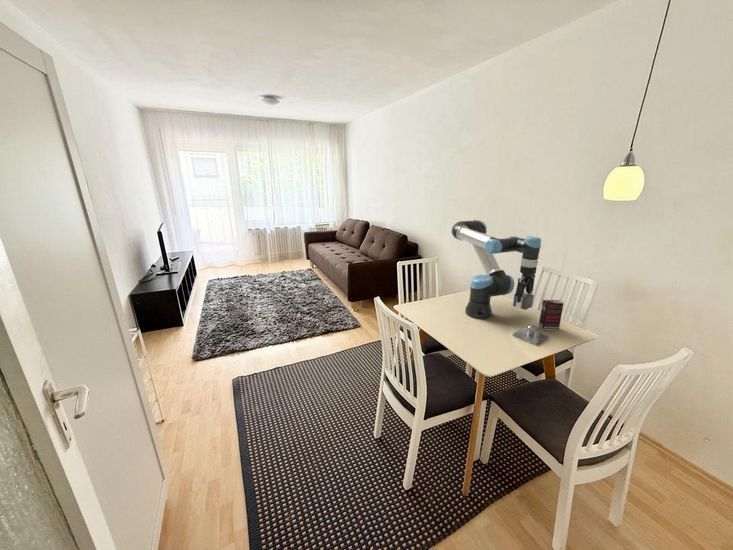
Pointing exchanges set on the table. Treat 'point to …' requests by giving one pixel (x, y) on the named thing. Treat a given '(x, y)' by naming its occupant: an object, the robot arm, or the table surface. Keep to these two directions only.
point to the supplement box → (550, 314)
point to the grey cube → (525, 300)
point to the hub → (530, 335)
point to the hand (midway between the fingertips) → (522, 305)
